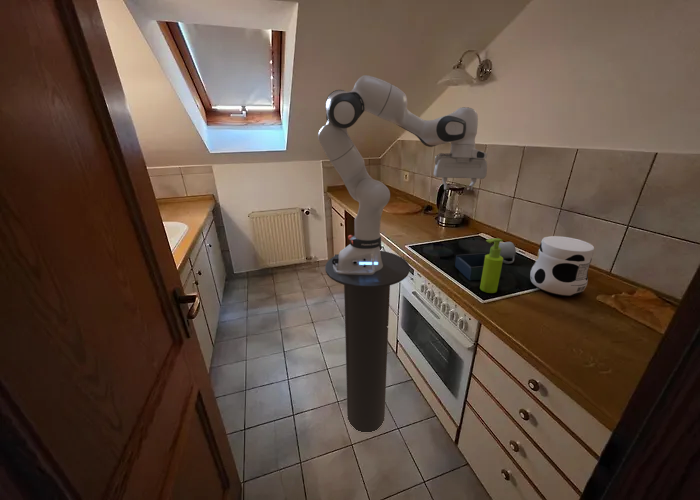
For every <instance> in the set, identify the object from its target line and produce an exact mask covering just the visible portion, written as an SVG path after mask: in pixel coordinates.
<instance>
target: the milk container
mask: <svg viewBox="0 0 700 500" xmlns="http://www.w3.org/2000/svg"><path fill="white" fill-rule="evenodd" d="M594 252H595V247H594V246H593V244H592V243H590V242H587V241H585V240H583V239H577V238H574V237H568V236H562V235H561V236H560V235H551V236H550V235H549V236H544V237H543V238H542V239H541V241H540V244H539V249H538V251H537V257H536V259H535V262H534V263H533V265H532V267H531V269H530V274H529V278H530V283H531V284H532V285H533V286H535V288H536V289H539V290H540V291H543V292H545V293H547V294H551V295H554V296H559V297H575V296H578V295H581V294H582V293H583V292H584V291H585V289H586V288H587V286H588V282H589V275H588V274H589V267H590V266H591V263H592V258H593V256H594Z"/></svg>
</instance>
